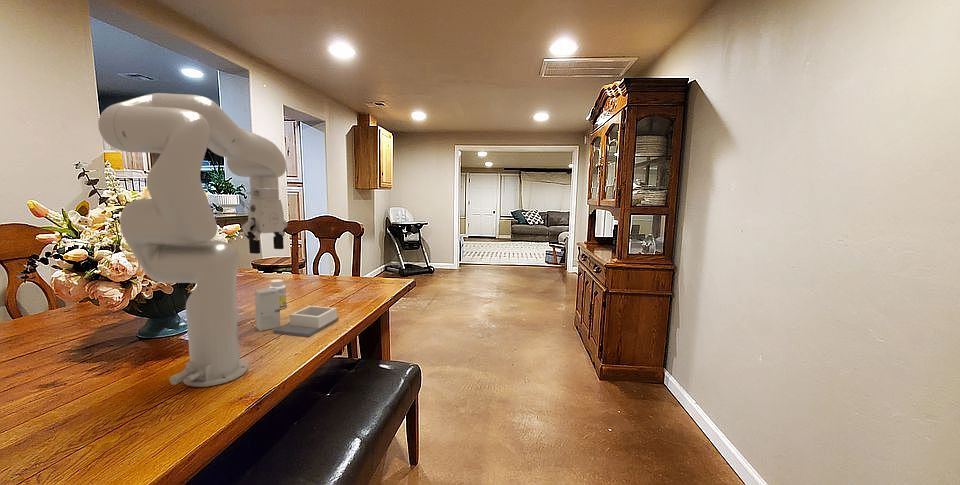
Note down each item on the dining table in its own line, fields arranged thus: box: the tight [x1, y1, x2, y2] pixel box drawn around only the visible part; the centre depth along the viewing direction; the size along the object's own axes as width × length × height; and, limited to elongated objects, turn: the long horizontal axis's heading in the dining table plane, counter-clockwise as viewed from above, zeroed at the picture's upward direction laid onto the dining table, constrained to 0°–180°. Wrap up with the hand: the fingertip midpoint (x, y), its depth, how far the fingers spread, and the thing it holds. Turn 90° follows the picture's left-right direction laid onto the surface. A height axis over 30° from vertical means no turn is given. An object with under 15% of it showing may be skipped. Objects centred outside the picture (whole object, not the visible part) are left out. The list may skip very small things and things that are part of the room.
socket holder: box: [272, 305, 340, 338], centre depth 124 cm, size 16×12×4 cm
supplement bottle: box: [268, 279, 287, 310], centre depth 142 cm, size 6×6×10 cm
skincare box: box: [254, 287, 281, 332], centre depth 122 cm, size 6×4×12 cm
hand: (267, 251), depth 120 cm, fingers open, 9 cm apart
